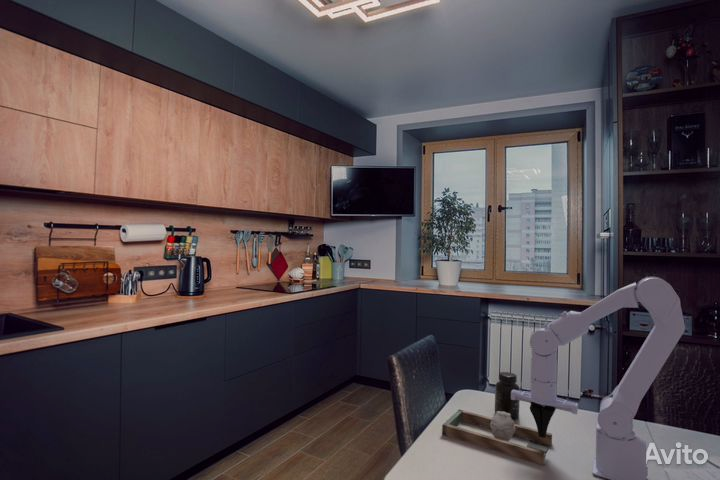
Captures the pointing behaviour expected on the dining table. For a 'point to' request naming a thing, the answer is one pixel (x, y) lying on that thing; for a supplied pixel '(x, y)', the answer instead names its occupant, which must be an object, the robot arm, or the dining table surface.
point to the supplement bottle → (506, 394)
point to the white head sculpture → (502, 426)
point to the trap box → (530, 453)
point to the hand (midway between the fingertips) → (542, 435)
